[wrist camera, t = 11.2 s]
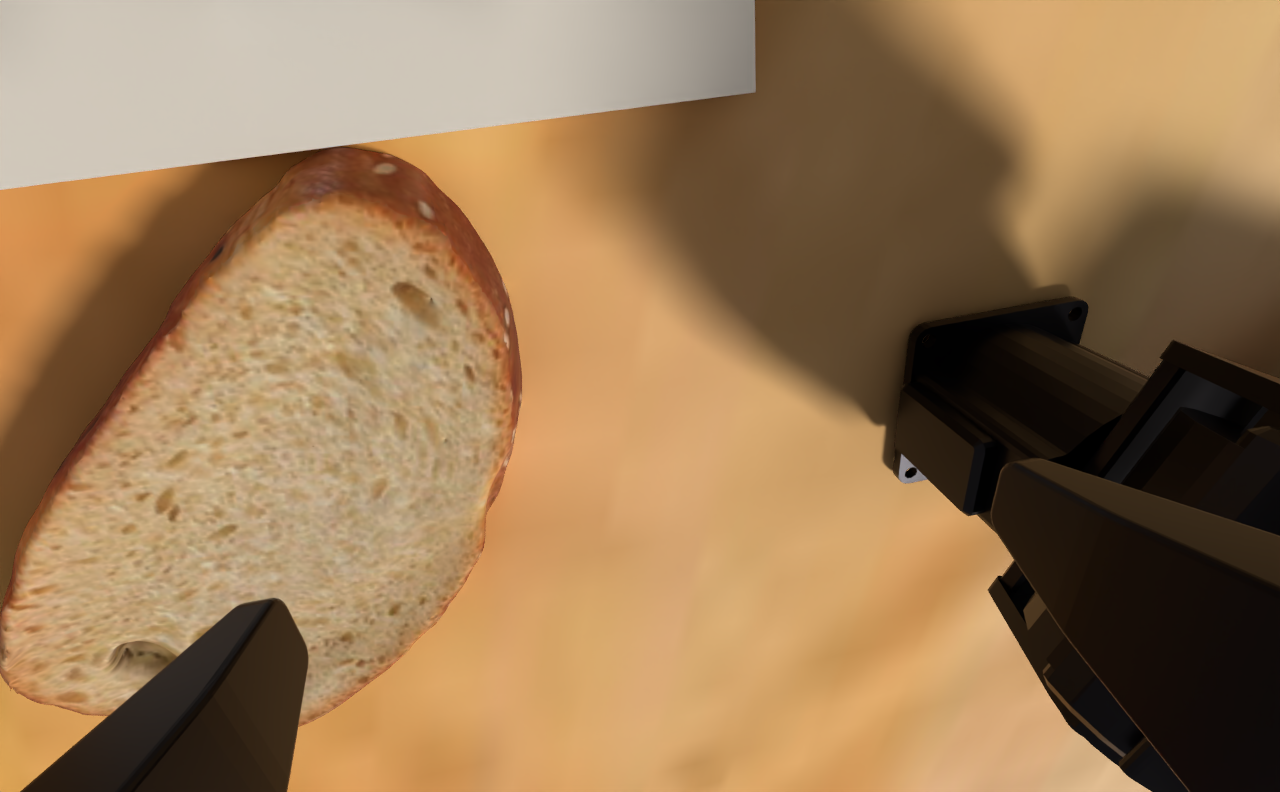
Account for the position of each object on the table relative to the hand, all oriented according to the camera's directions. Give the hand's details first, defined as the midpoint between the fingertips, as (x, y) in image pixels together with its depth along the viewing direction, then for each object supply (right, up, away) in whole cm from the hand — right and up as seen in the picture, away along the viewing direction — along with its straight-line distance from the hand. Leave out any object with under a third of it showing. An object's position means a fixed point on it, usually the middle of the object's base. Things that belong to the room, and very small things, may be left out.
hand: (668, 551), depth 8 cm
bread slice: (-12, -1, +12) cm, 17 cm away
